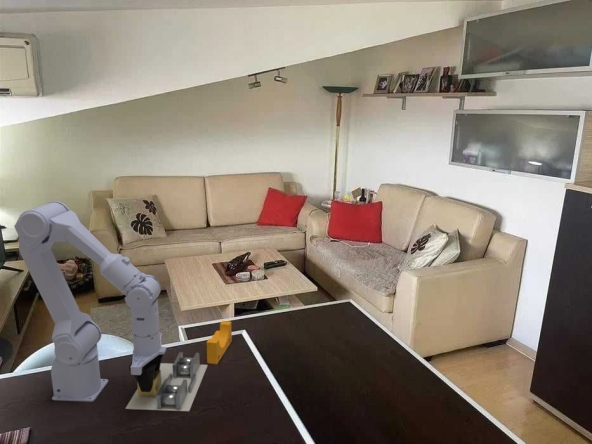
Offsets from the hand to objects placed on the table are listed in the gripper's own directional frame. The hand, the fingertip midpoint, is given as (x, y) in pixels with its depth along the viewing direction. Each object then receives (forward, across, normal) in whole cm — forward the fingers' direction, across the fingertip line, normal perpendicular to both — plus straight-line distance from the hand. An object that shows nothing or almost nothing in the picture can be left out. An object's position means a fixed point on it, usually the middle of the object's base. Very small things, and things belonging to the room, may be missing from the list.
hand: (149, 384), depth 104 cm
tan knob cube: (+1, 0, 0) cm, 1 cm away
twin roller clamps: (+2, +3, -6) cm, 7 cm away
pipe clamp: (+3, +19, -12) cm, 22 cm away
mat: (+2, +3, -4) cm, 5 cm away
